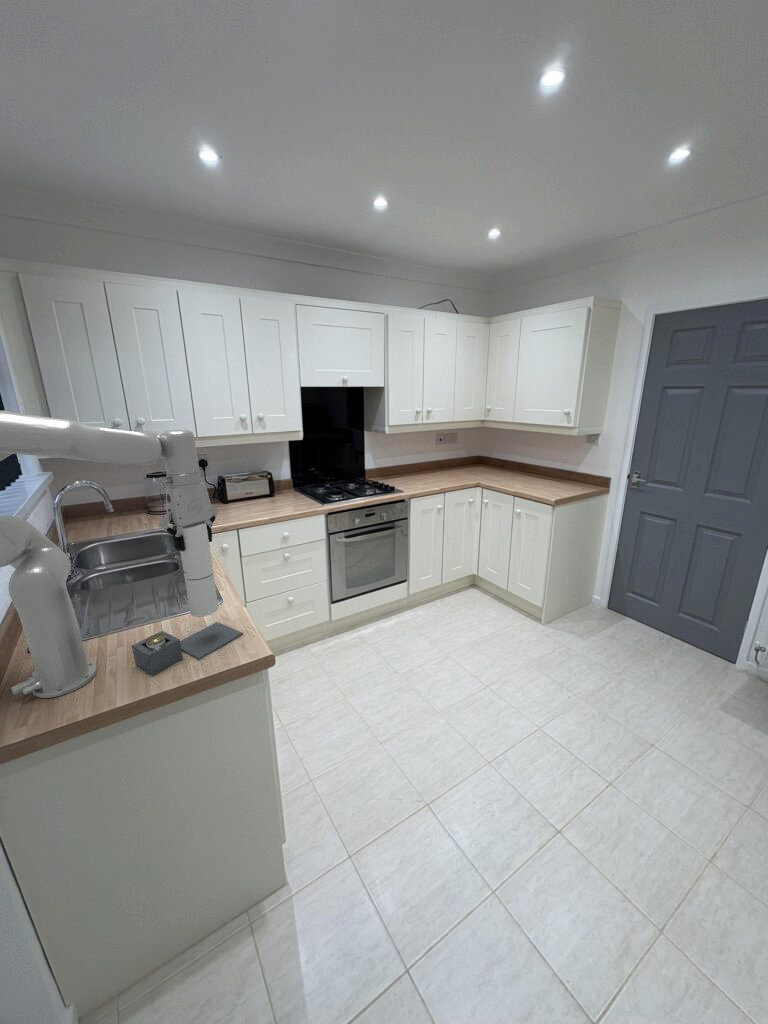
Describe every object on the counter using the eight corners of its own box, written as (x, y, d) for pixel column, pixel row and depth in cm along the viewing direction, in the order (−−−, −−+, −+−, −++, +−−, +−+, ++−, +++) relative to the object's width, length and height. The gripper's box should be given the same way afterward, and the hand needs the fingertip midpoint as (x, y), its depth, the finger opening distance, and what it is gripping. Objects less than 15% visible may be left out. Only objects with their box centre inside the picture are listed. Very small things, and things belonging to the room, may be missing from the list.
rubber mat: (199, 660, 106) (198, 658, 105) (173, 646, 112) (172, 644, 112) (243, 634, 117) (242, 632, 117) (217, 623, 123) (217, 621, 123)
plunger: (155, 664, 102) (151, 645, 100) (146, 658, 104) (142, 640, 102) (171, 655, 105) (167, 636, 104) (162, 650, 107) (158, 632, 106)
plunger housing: (152, 676, 100) (148, 655, 98) (135, 666, 104) (131, 645, 102) (183, 659, 106) (179, 639, 104) (166, 650, 110) (162, 630, 109)
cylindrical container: (210, 601, 117) (198, 519, 110) (223, 609, 112) (211, 523, 106) (185, 611, 111) (171, 525, 105) (198, 619, 107) (184, 530, 100)
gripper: (158, 487, 93) (171, 558, 98) (223, 475, 107) (231, 538, 112) (141, 484, 97) (154, 553, 102) (206, 473, 111) (214, 534, 116)
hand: (194, 544), depth 107 cm, fingers closed on cylindrical container, 7 cm apart
